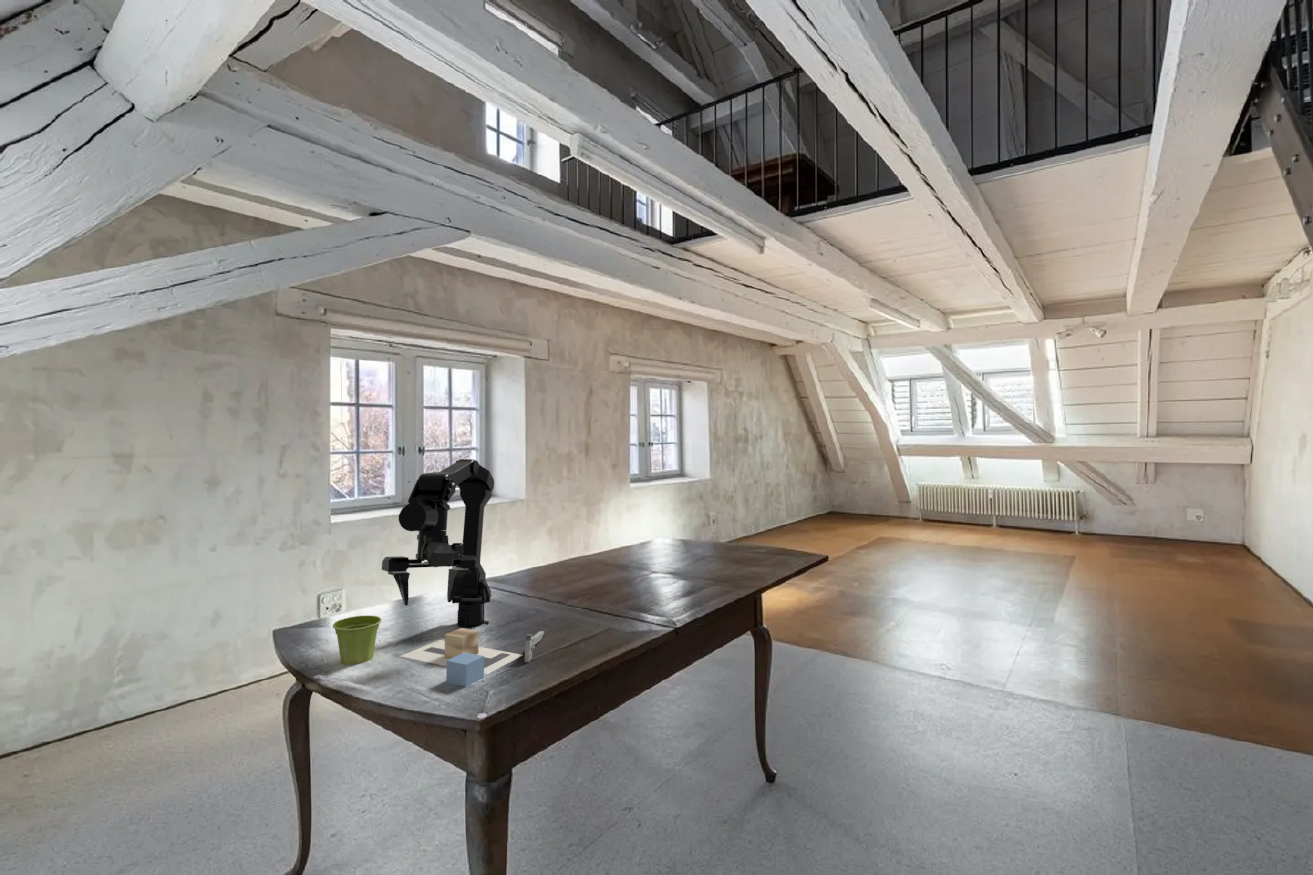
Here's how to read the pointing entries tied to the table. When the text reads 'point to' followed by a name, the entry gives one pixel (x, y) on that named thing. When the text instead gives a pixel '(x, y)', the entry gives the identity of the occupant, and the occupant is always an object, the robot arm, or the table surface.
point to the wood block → (461, 642)
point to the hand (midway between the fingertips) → (428, 603)
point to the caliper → (531, 644)
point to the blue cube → (465, 669)
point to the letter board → (437, 656)
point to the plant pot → (357, 638)
